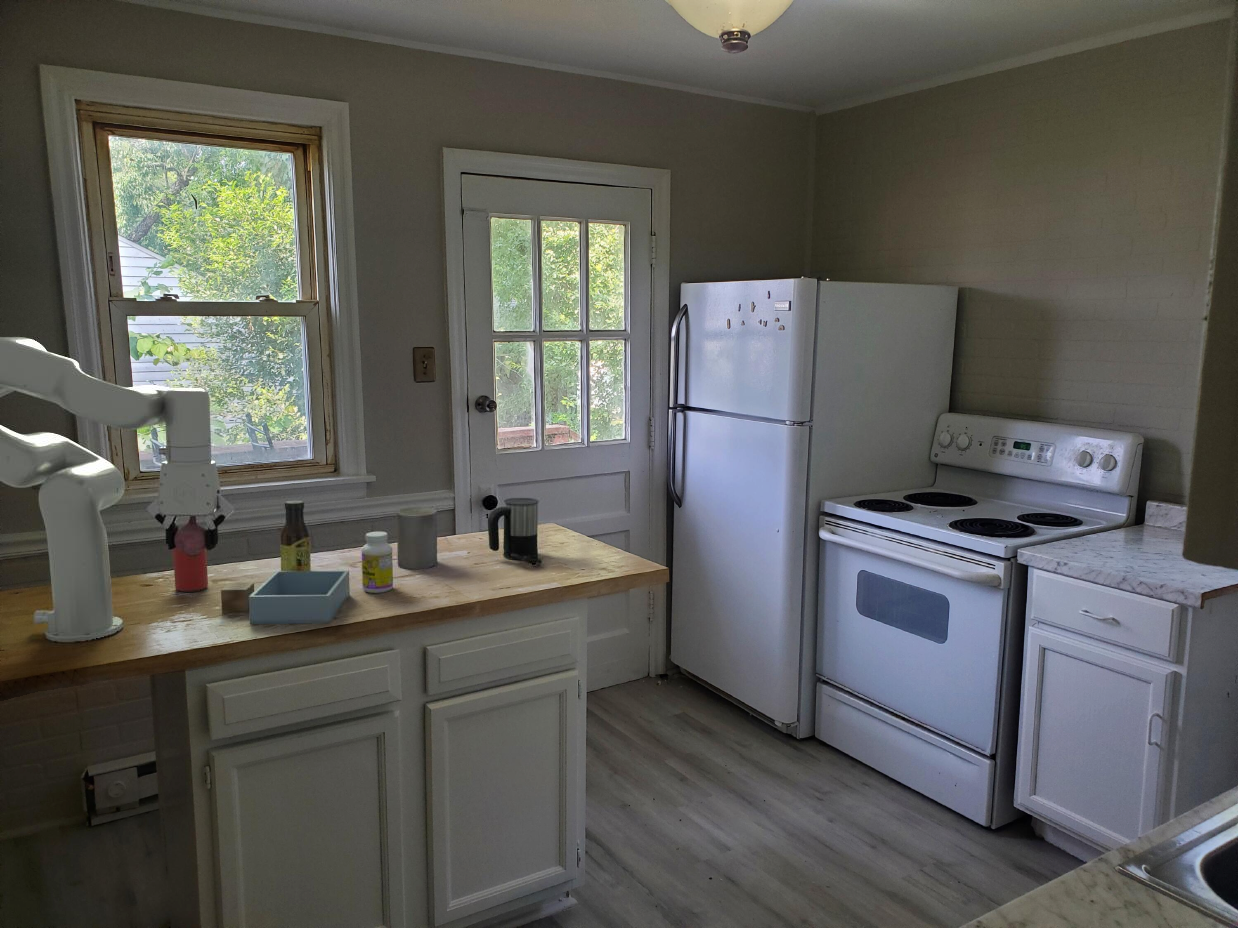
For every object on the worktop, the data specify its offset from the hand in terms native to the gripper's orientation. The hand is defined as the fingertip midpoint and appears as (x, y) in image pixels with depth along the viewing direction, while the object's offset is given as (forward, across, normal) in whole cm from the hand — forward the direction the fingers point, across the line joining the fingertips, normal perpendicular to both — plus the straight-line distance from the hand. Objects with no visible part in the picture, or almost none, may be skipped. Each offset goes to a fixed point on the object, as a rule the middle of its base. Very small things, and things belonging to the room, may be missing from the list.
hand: (192, 547), depth 166 cm
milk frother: (+15, +62, +51) cm, 82 cm away
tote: (+16, +17, +12) cm, 26 cm away
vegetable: (+2, 0, 0) cm, 2 cm away
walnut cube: (+16, +4, +13) cm, 21 cm away
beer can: (+17, -11, +28) cm, 35 cm away
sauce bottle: (+16, +12, +27) cm, 34 cm away
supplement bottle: (+16, +30, +26) cm, 43 cm away
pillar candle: (+16, +36, +47) cm, 61 cm away
